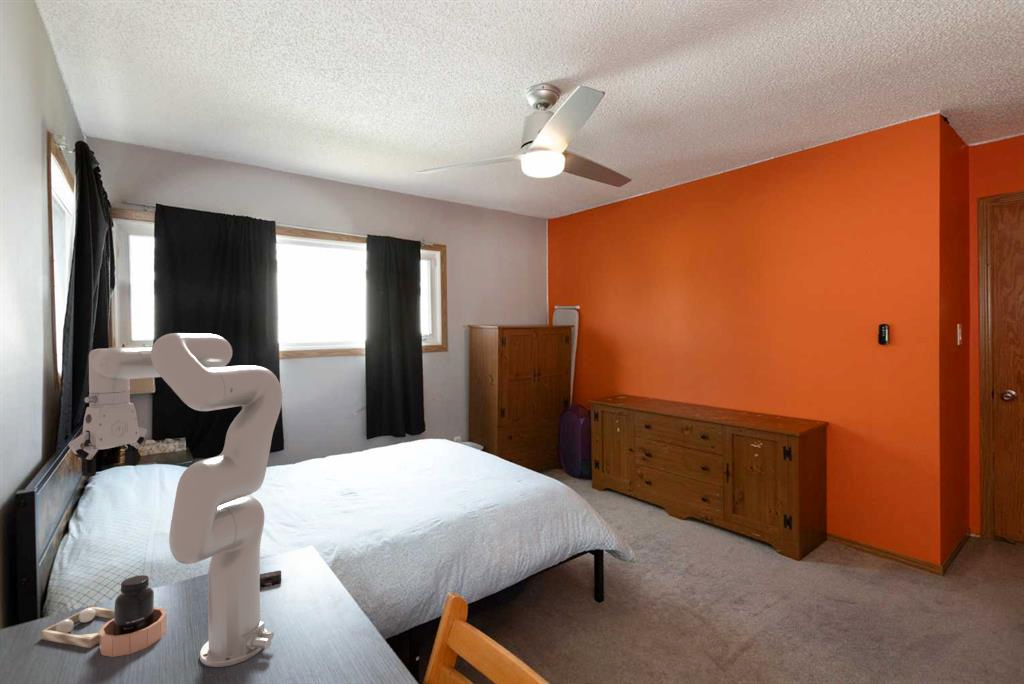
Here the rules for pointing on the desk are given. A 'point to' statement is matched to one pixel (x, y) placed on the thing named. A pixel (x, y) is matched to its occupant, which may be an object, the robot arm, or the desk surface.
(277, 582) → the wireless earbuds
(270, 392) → the robot arm
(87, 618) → the pebble
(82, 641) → the tray
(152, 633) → the bowl
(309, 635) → the desk surface
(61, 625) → the pebble
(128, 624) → the supplement bottle
